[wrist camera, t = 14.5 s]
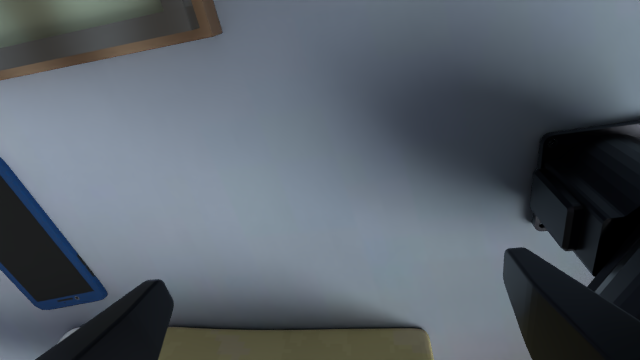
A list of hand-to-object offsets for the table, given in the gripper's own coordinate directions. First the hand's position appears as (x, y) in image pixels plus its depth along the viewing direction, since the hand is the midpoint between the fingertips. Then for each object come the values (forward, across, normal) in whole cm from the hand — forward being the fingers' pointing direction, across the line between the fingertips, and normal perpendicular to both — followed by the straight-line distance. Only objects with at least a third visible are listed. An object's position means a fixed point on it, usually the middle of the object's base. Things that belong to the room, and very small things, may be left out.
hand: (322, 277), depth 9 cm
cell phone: (+14, +26, +6) cm, 30 cm away
